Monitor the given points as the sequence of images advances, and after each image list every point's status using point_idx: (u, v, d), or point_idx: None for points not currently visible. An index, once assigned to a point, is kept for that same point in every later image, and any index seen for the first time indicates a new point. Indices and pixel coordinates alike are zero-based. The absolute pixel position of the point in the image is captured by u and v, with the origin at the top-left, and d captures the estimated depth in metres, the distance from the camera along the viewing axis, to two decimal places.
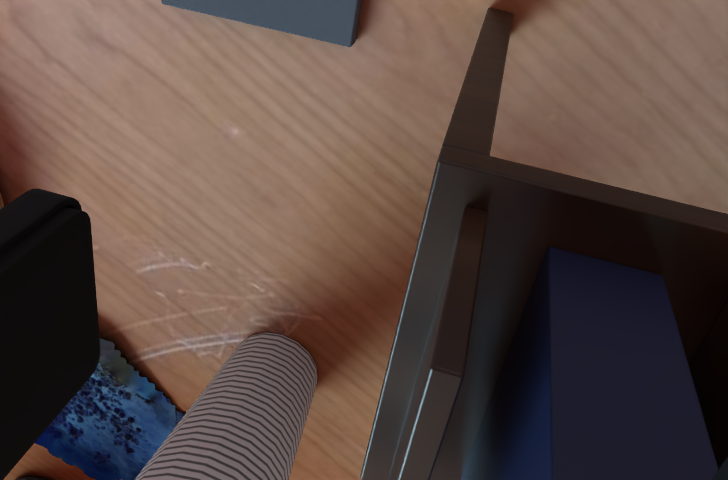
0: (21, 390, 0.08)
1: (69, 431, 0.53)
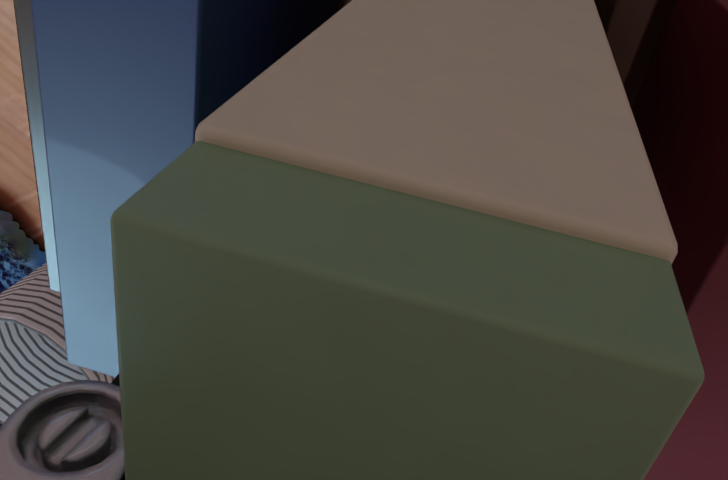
0: None
1: None
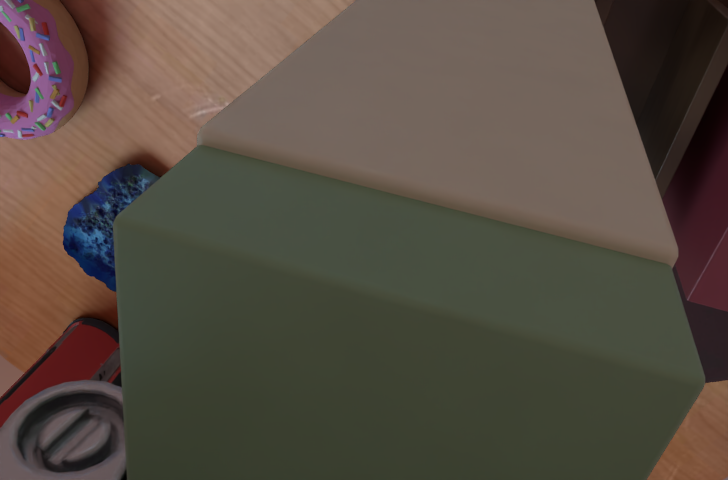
0: None
1: None
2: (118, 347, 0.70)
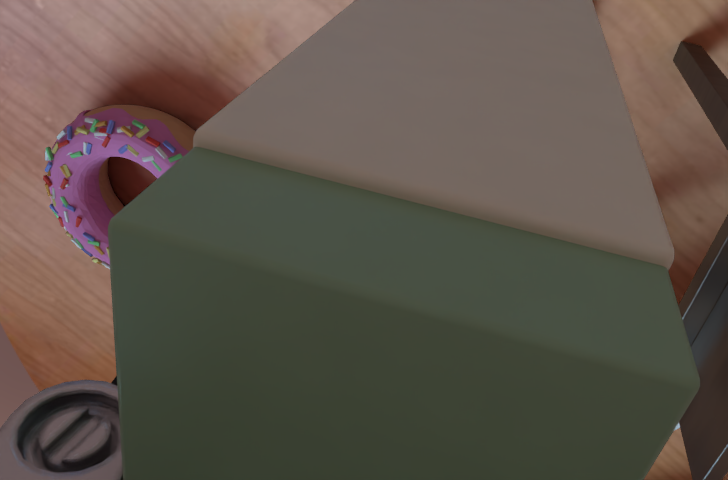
0: None
1: None
2: None
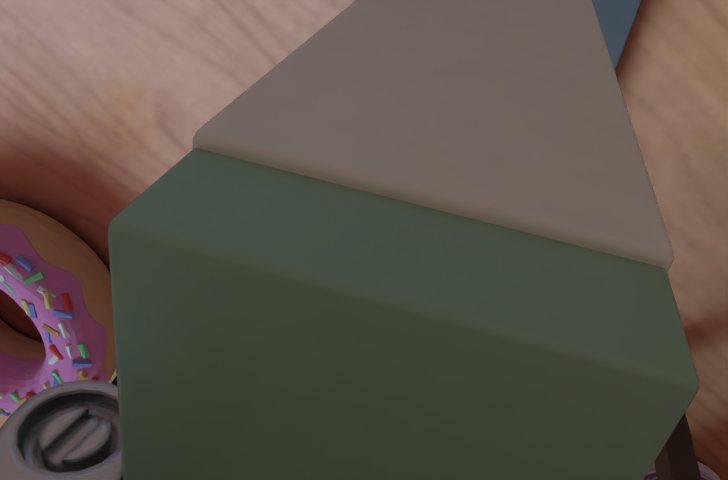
0: None
1: None
2: None
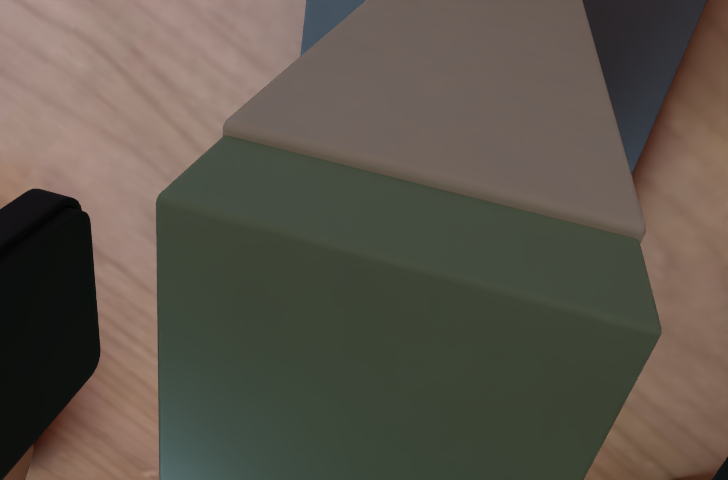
0: (22, 389, 0.08)
1: None
2: None
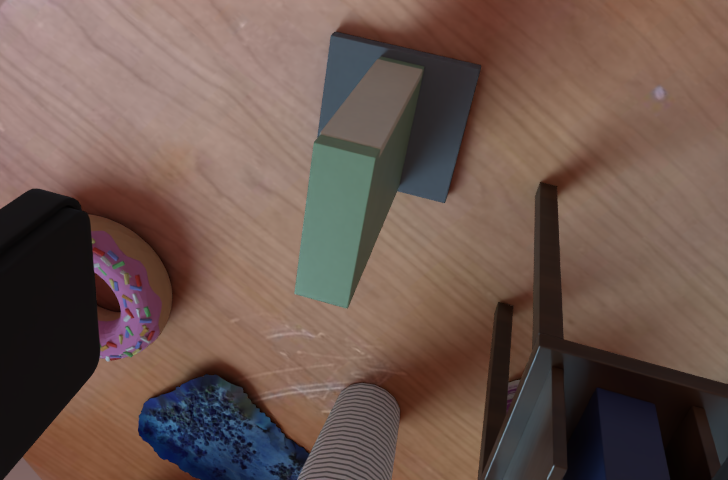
0: (22, 390, 0.08)
1: (196, 452, 0.69)
2: None
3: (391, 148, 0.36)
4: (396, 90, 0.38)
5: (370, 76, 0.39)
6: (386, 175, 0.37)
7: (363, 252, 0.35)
